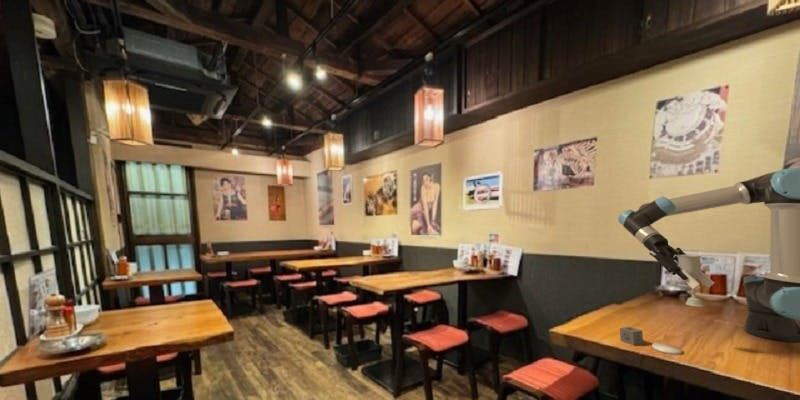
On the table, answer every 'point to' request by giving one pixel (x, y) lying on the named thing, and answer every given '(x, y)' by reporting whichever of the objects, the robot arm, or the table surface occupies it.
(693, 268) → the chalice
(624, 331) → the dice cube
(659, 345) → the coaster
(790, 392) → the table surface
